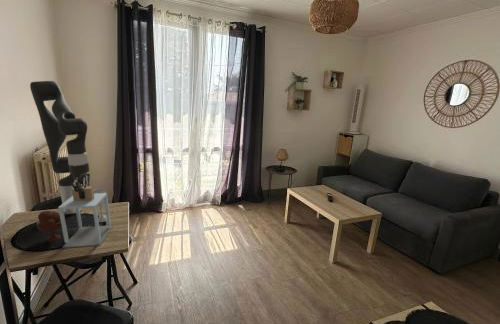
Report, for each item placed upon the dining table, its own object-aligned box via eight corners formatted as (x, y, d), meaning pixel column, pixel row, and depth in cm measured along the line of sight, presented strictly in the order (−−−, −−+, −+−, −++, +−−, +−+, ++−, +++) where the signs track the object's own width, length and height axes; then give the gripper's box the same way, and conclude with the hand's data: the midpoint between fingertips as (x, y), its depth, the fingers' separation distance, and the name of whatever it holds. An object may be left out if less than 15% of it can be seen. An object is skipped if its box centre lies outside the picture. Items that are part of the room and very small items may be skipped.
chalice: (92, 221, 140) (87, 191, 135) (102, 216, 146) (98, 187, 141) (102, 223, 138) (98, 193, 133) (112, 218, 144) (109, 188, 139)
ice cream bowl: (53, 246, 117) (47, 217, 113) (33, 243, 119) (27, 214, 115) (73, 234, 127) (68, 207, 123) (54, 231, 129) (49, 204, 125)
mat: (80, 228, 133) (80, 227, 133) (113, 226, 136) (113, 225, 136) (62, 248, 116) (62, 247, 116) (100, 245, 119) (100, 244, 118)
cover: (79, 226, 131) (72, 182, 125) (110, 224, 134) (105, 182, 127) (64, 242, 117) (56, 194, 110) (100, 240, 120) (93, 193, 113)
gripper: (76, 158, 122) (81, 192, 126) (61, 167, 108) (67, 203, 113) (93, 158, 123) (98, 191, 127) (80, 166, 110) (86, 203, 114)
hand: (83, 197), depth 120 cm, fingers closed on cover, 2 cm apart
